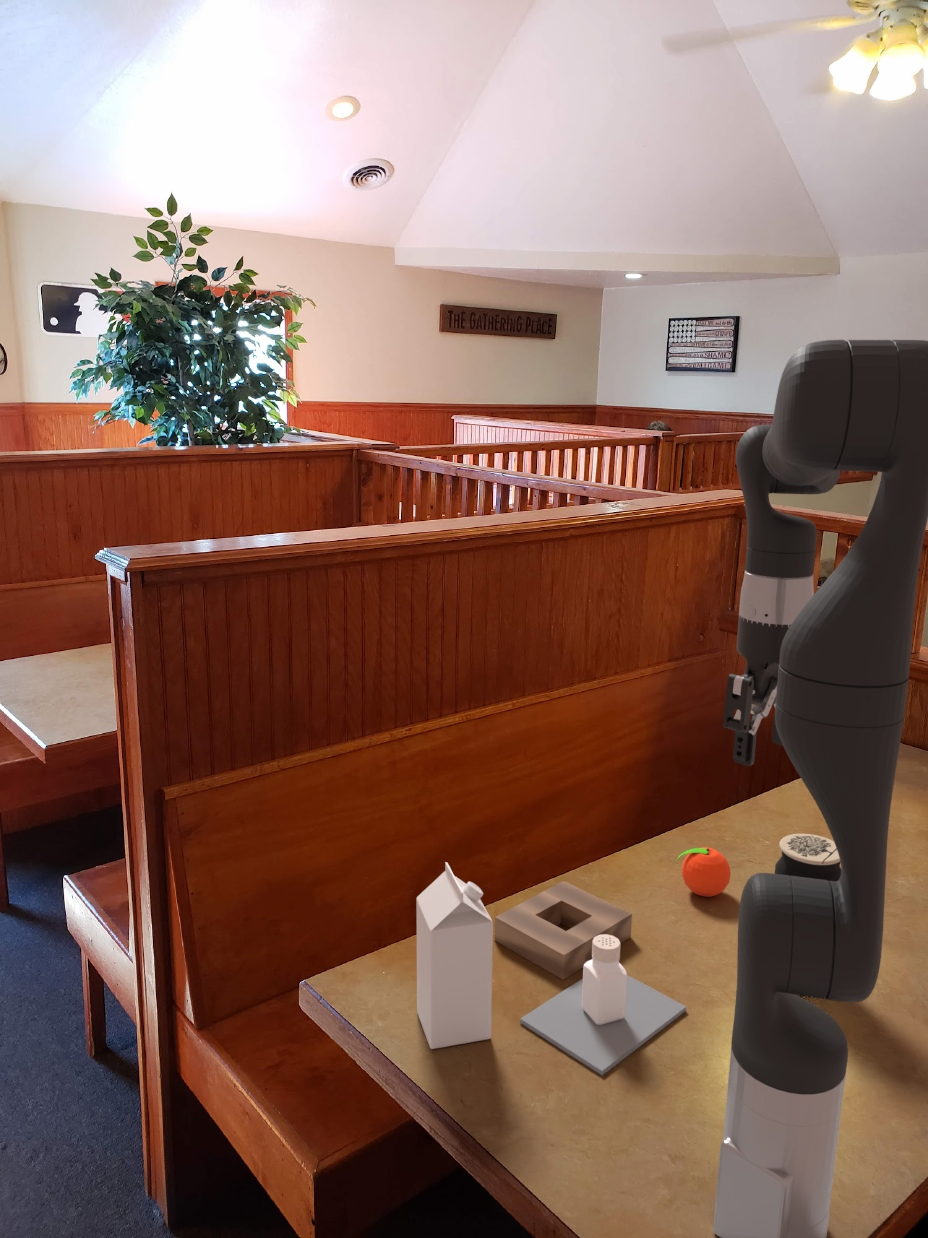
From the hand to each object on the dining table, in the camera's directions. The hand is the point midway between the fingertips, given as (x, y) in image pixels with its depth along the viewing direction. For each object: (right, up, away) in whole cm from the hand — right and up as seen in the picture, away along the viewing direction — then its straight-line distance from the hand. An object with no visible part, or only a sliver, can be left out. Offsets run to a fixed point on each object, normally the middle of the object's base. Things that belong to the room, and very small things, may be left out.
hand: (763, 753), depth 107 cm
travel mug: (+9, -30, +13) cm, 34 cm away
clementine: (+1, -25, +33) cm, 42 cm away
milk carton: (-35, -32, +3) cm, 48 cm away
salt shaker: (-17, -31, +5) cm, 36 cm away
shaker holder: (-20, -28, +21) cm, 40 cm away
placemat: (-17, -32, +5) cm, 36 cm away
